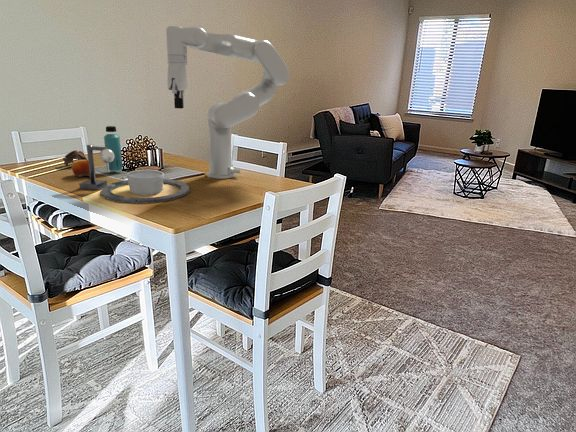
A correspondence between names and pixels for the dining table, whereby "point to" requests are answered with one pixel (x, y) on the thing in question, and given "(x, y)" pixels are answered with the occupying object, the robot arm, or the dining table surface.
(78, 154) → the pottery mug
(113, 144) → the beverage bottle
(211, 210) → the dining table surface
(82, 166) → the fruit
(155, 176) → the ramekin
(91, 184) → the dial gauge stand
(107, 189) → the ring
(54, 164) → the dining table surface
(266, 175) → the dining table surface
